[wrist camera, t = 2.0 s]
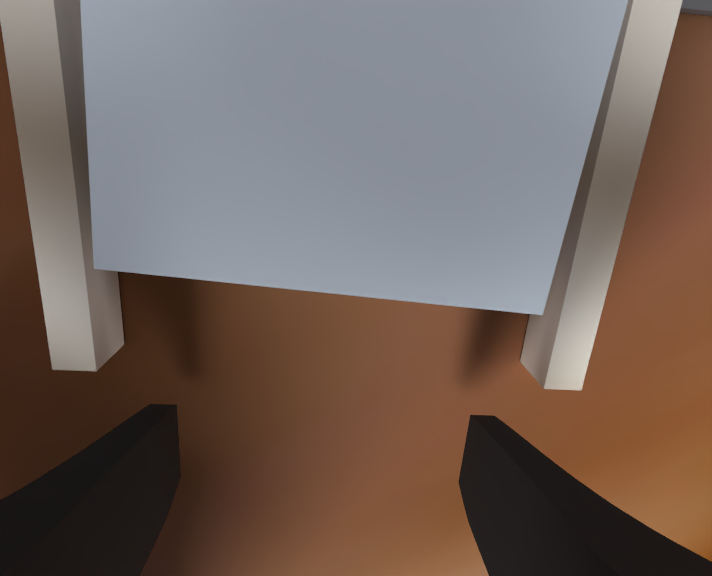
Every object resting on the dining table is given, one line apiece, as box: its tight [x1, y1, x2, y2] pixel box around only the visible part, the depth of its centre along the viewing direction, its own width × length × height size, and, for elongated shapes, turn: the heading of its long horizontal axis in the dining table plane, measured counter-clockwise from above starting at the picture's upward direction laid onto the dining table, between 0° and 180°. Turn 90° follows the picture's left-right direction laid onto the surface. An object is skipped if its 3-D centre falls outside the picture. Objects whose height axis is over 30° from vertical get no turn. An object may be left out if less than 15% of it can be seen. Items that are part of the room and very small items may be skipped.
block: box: [80, 0, 628, 315], centre depth 9 cm, size 6×8×4 cm
